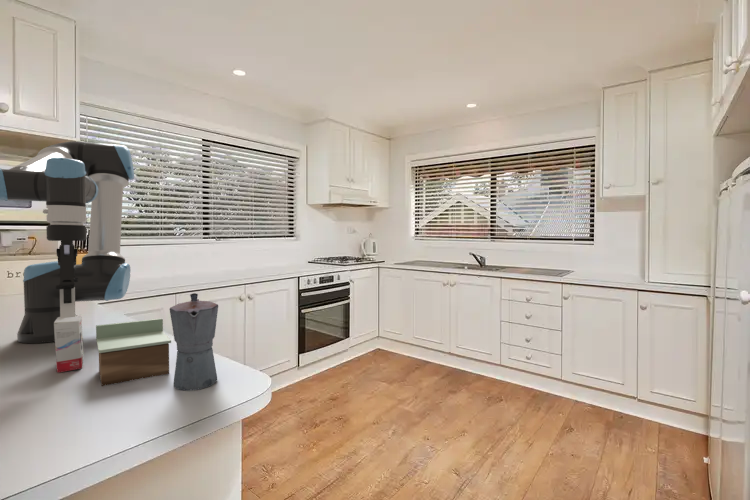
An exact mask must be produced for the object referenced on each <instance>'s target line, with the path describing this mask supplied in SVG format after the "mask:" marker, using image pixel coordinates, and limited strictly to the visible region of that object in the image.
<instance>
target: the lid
mask: <svg viewBox="0 0 750 500" xmlns="http://www.w3.org/2000/svg"><path fill="white" fill-rule="evenodd" d="M163 320H164V318H153V319H143V320H135V321H123V322H117V323H106V324H97V325H95V341H96V346H97V351H98V354H99V353H104V352H111V351H118V350H125V349H132V348H139V347H146V346H153V345H160V344H167V343H168V344H172V339H171V338H170V337H169V335H167V334H166V332H165V331H164V325H163V324H164V321H163Z"/></svg>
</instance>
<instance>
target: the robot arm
mask: <svg viewBox="0 0 750 500" xmlns="http://www.w3.org/2000/svg"><path fill="white" fill-rule="evenodd" d="M134 170H135V169H134V164H133V159H132V154H131V150H130V148H129V147H127V146H126V145H122V144H115V143H100V142H89V141H88V142H87V141H80V140H76V141H75V140H74V141H73V140H71V141H64V142H60V143H59V142H58V143H54V144H51V145H48V146H46V147H44V148H42V149H40V150H39V151H38V153H37V155H36V156H33V157H32V158H30V159H28V160H26V161H24V162H21V163H20V164H17V165H16V166H13V167H12V168H8V169H4V168H0V201H12V202H13V201H17V202H19V201H20V202H21V201H23V202H24V201H25V202H45V205H46V209H45V208H44V209H43V210H42V213H43V214H46V222H47V223H49V224H48V225H47V226H46V240H47V241H50V242H51V241H52V242H53V241H54V242H59V241H60V244H59V247H58V248H56V257H57V260H56V261H48V262H40V263H33V264H30V265H27V266H26V267H25V268H24V271H23V280H22V283H23V300H24V301H23V302H24V303H23V304H24V306H23V307H24V316H23V317H22V319H21V323H20V326H19V328H18V331H17V333H16V334H17V336H16V337H17V342H18V343H22V344H40V343H51V342H55V334H54V322H55V321H56V319H57V318H58V317H60V318H69V317H75V315H76V303H77V302H78V303H81V302H95V301H96V302H97V301H99V302H100V301H106V302H109V301H113V300H120V299H122V298H124V297H125V296H126V294H127V292H128V289H129V286H130V281H131V280H130V279H131V266H130V264H129V263H127V262H126V258H125V257H124V256H123V255H121V239H122V217H123V216H122V215H123V196H124V195H123V194H124V189H125V188H126V187H128V186H129V181H132V180H134V179H135V172H134ZM89 203H91V205H90V207H91V208H90V220H89V233H88V235H89V237H88V249H87V251H88V252H87V254H85V255H84V256H82V258H81V263H77V257H78V248H75V245H74V242H82V241H83V242H84V241H86V240H87V227H86V225H84V224H86V223H87V206H86V205H87V204H89Z"/></svg>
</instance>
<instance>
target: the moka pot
mask: <svg viewBox="0 0 750 500" xmlns="http://www.w3.org/2000/svg"><path fill="white" fill-rule="evenodd" d="M198 296H199V294H198V293H195V292H194V293H190V294H189V297H190V300H189V301H185V302H180V303H177V304H174V305H173V306H171V307H170V308H169V314H170V321H171V326H172V333H173V339H174V342H175V343H176V350H177V352H176V360H175V369H174V375H173V376H174V377H173V378H174V379H173V387H174V388H175V389H177V390H180V391H189V392H190V391H198V390H199V391H200V390H202V389H206V388H208V387H211V386H212V385H214V384H215V383H216V382H217V381H218V374H217V368H216V362H215V357H214V356H215V355H214V350H213V343H214V341H213V340H214V339H215V337H216V336H215V335H216V327H217V320H218V319H217V318H218V311H219V304H218V303H216V302H215V303H214V302H213V301H207V300H199V299H198Z"/></svg>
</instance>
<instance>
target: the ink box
mask: <svg viewBox="0 0 750 500" xmlns="http://www.w3.org/2000/svg"><path fill="white" fill-rule="evenodd" d="M82 321H83V320H82V314H77V315H75V317H69V318H60V317H58V318H57V319H56V321H55V322H54V334H55V341H54V347H55V362H56V363H55V365H56V372H57V373H65V372H69V371H73V370H74V371H75V370H80V369H83V363H84V346H83V345H84V344H83V339H84V338H83V324H82V323H83V322H82Z"/></svg>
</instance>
